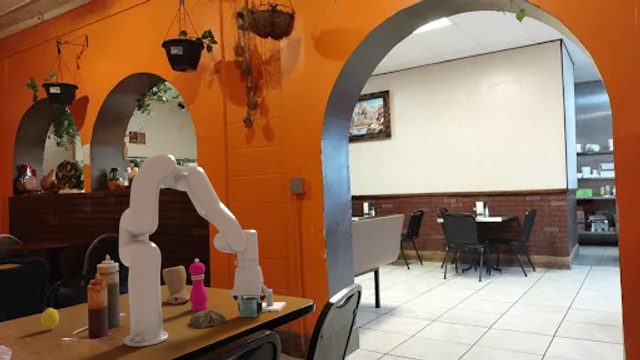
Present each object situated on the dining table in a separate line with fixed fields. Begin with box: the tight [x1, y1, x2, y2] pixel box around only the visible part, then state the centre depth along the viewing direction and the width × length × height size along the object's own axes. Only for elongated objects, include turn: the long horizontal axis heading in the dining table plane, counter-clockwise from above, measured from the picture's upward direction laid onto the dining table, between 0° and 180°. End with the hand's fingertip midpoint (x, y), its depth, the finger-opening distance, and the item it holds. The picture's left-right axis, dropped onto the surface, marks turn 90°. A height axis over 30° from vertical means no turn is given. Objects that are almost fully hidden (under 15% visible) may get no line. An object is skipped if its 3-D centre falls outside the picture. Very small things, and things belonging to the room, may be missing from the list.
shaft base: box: [261, 288, 287, 313], centre depth 181 cm, size 10×10×7 cm
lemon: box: [40, 307, 60, 330], centre depth 169 cm, size 6×6×8 cm
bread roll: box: [189, 309, 227, 329], centre depth 166 cm, size 13×12×5 cm
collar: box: [239, 296, 260, 318], centre depth 172 cm, size 6×6×6 cm
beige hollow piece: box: [162, 265, 191, 305], centre depth 204 cm, size 15×12×15 cm
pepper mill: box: [188, 258, 209, 312], centre depth 187 cm, size 7×7×20 cm
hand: (250, 312), depth 172 cm, fingers closed on collar, 6 cm apart
